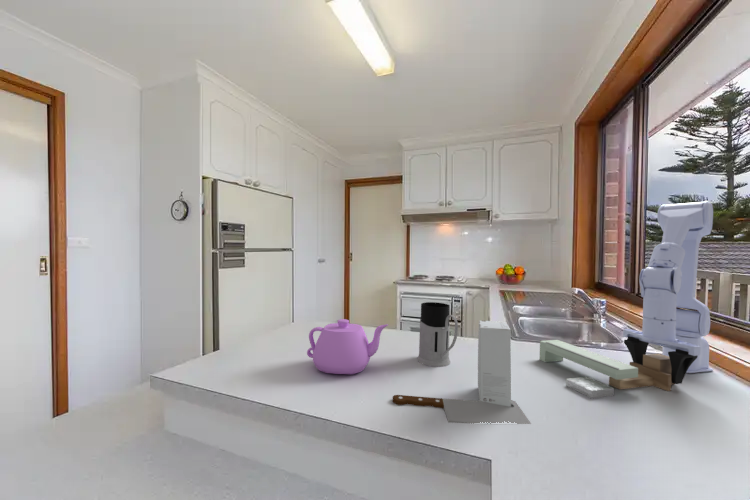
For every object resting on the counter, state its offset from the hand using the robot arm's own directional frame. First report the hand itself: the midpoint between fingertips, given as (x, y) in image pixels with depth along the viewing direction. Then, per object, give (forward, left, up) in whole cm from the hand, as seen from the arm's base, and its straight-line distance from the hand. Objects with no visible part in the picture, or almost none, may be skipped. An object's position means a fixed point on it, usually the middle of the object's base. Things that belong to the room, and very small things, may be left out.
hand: (657, 376), depth 72 cm
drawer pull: (+13, -7, -1) cm, 16 cm away
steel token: (+21, 0, -2) cm, 21 cm away
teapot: (+70, -22, -2) cm, 73 cm away
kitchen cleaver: (+53, +2, -2) cm, 53 cm away
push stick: (+5, 0, -1) cm, 5 cm away
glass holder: (+46, -20, -2) cm, 50 cm away
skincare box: (+43, -2, -2) cm, 43 cm away
